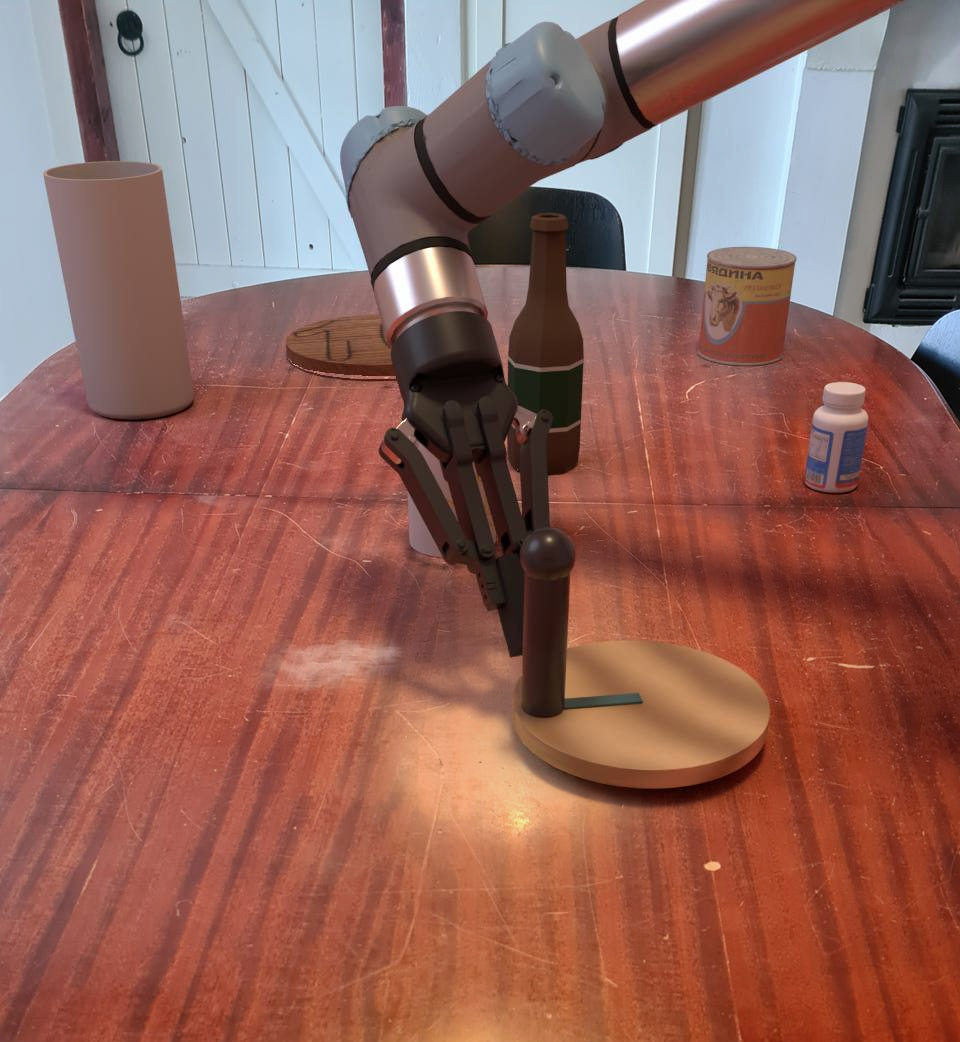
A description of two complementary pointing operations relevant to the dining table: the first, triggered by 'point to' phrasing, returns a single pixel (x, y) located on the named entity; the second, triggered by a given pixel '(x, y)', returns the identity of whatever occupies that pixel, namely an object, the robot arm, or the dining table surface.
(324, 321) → the trivet
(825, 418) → the pill bottle
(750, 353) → the canned food
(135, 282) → the cylinder vase
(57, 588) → the dining table surface
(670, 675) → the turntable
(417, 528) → the white cylinder
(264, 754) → the dining table surface
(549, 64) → the robot arm
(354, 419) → the dining table surface
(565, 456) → the beer bottle
